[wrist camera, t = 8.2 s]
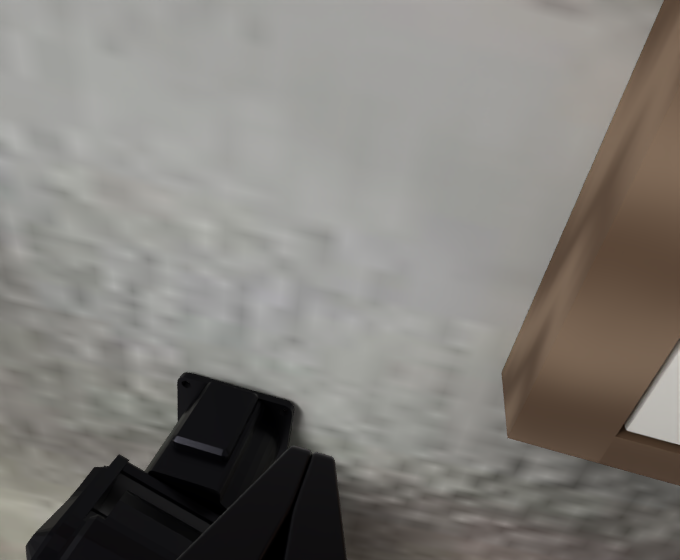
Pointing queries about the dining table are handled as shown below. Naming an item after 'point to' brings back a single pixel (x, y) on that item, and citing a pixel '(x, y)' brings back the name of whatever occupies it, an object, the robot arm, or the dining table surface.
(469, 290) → the dining table surface
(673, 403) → the button
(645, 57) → the panel
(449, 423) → the dining table surface
